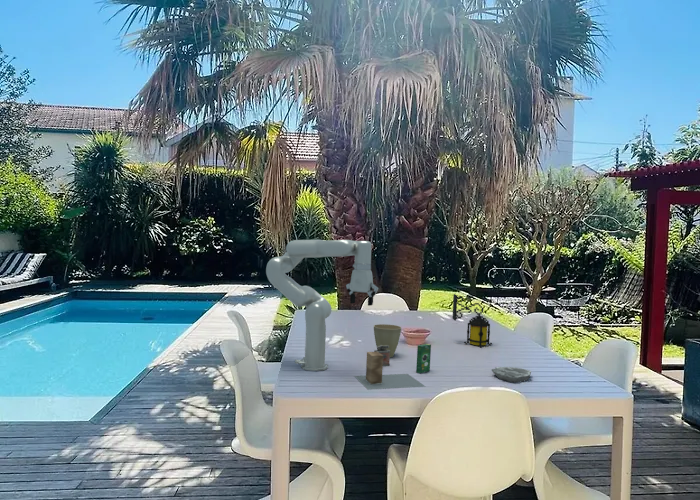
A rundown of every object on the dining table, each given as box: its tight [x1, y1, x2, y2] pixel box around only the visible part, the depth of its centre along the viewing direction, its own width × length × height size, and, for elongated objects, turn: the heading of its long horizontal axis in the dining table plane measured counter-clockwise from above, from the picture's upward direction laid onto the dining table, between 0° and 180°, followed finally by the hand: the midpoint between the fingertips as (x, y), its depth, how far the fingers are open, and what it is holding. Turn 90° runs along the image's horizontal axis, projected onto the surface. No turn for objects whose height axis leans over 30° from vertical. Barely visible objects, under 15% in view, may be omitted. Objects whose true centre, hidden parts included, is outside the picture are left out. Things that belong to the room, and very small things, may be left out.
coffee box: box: [415, 343, 432, 374], centre depth 246 cm, size 8×3×13 cm, turn 137°
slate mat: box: [353, 373, 426, 391], centre depth 225 cm, size 26×20×1 cm
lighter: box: [373, 345, 391, 367], centre depth 255 cm, size 8×3×10 cm, turn 105°
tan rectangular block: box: [365, 351, 384, 384], centre depth 223 cm, size 5×7×12 cm
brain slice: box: [491, 366, 532, 383], centre depth 242 cm, size 20×17×3 cm
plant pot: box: [373, 323, 402, 359], centre depth 274 cm, size 15×15×16 cm
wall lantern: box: [452, 293, 493, 349], centre depth 312 cm, size 17×24×30 cm
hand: (361, 304), depth 239 cm, fingers open, 9 cm apart
